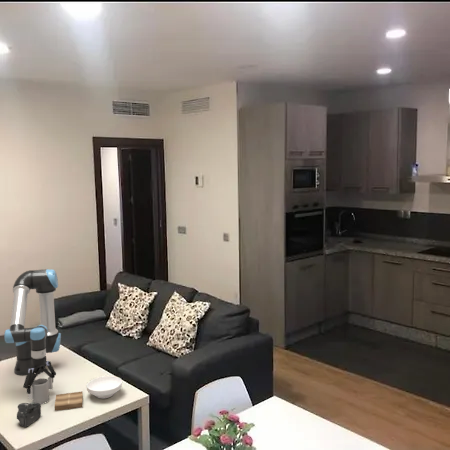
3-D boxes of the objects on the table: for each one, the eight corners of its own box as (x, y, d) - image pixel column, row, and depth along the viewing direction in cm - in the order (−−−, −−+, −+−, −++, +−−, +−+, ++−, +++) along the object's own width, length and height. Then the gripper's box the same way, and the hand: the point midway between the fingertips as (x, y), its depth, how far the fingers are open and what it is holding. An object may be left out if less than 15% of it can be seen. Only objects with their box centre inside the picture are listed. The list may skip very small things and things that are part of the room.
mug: (49, 403, 262) (48, 383, 260) (32, 405, 259) (31, 386, 258) (49, 393, 273) (48, 374, 272) (33, 395, 270) (32, 377, 269)
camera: (23, 415, 249) (21, 396, 248) (42, 414, 250) (41, 396, 248) (13, 428, 236) (12, 409, 235) (34, 427, 236) (33, 408, 235)
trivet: (56, 399, 266) (56, 394, 266) (82, 395, 270) (82, 391, 270) (54, 411, 253) (54, 406, 252) (82, 407, 256) (82, 402, 256)
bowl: (129, 390, 276) (128, 378, 275) (110, 405, 258) (109, 393, 257) (99, 385, 283) (99, 373, 282) (79, 400, 264) (78, 388, 263)
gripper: (24, 365, 250) (26, 404, 253) (61, 350, 272) (63, 386, 274) (14, 363, 254) (16, 401, 256) (52, 348, 276) (54, 383, 278)
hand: (40, 393), depth 265 cm, fingers open, 13 cm apart
